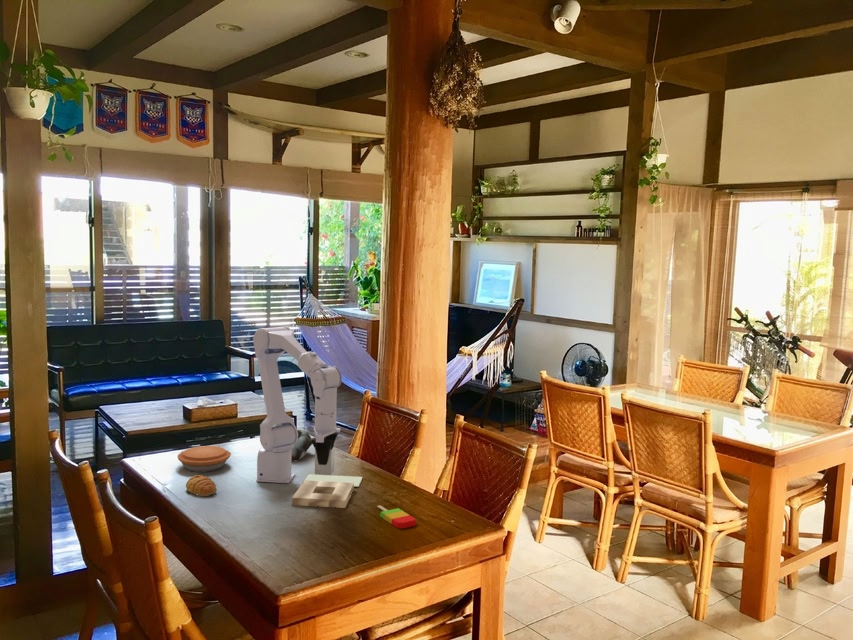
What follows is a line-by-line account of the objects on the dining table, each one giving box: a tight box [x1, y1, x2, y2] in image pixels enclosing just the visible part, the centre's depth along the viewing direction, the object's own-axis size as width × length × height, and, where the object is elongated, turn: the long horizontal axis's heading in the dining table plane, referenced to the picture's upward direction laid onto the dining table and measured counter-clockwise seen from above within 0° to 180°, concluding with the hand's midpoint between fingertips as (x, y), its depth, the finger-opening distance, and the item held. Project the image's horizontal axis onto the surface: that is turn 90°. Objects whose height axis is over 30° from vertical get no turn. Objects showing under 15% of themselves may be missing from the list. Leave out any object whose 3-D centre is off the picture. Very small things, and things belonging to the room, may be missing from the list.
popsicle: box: [376, 504, 417, 529], centre depth 181 cm, size 6×15×2 cm, turn 33°
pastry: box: [185, 474, 218, 497], centre depth 194 cm, size 9×7×4 cm
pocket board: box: [291, 479, 355, 509], centre depth 193 cm, size 14×14×2 cm
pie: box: [177, 445, 232, 473], centre depth 216 cm, size 15×16×5 cm
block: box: [314, 444, 336, 475], centre depth 192 cm, size 4×4×7 cm
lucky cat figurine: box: [273, 424, 313, 462], centre depth 229 cm, size 15×12×14 cm
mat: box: [304, 473, 364, 487], centre depth 206 cm, size 16×8×1 cm, turn 87°
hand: (324, 461), depth 192 cm, fingers closed on block, 4 cm apart
